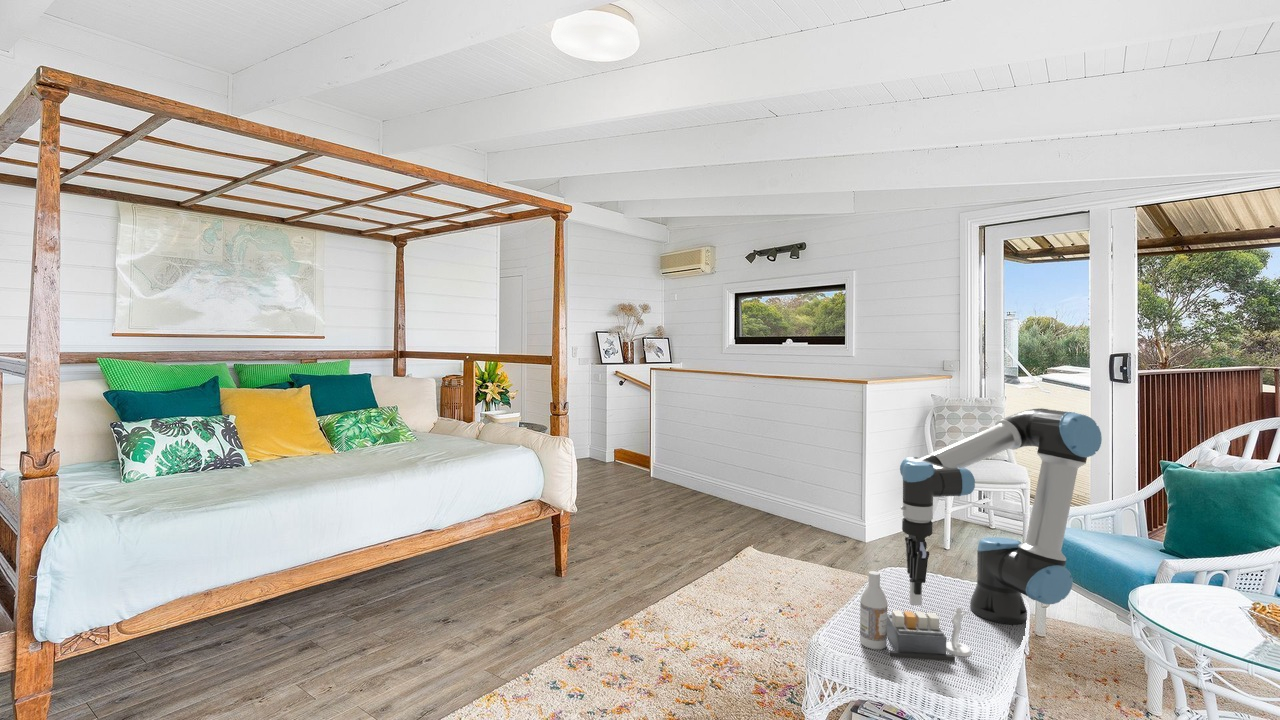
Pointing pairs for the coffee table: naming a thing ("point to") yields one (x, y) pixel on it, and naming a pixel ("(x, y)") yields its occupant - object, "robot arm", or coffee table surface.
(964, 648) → the figurine
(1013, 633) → the coffee table surface
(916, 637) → the breaker panel
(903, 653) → the dark grey slat
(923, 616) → the paddle
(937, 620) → the cream rectangular block
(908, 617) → the paddle
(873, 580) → the bath foam
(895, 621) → the cream small block
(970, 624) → the coffee table surface
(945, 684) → the coffee table surface
